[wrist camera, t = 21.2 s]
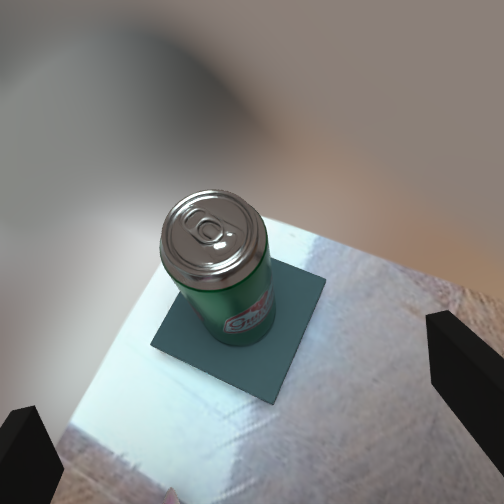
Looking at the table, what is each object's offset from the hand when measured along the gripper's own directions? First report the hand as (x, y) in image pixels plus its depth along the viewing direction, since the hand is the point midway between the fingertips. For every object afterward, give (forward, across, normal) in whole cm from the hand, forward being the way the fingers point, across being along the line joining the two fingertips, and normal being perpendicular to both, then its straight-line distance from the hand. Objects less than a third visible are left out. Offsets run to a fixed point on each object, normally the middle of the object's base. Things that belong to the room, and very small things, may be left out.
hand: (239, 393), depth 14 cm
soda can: (+15, 0, -5) cm, 16 cm away
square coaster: (+17, 0, -7) cm, 18 cm away
